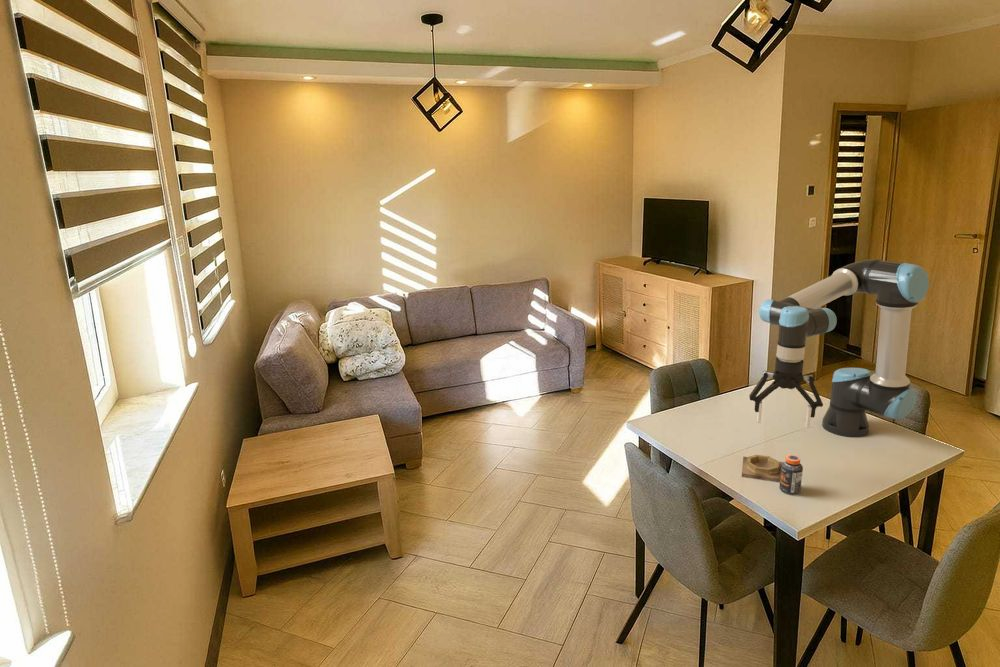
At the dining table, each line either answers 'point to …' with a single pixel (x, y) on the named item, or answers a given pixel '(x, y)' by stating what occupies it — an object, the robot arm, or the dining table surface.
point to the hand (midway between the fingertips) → (782, 424)
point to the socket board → (761, 468)
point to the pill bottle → (791, 475)
